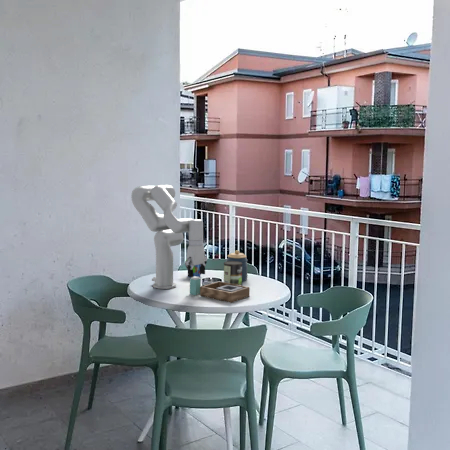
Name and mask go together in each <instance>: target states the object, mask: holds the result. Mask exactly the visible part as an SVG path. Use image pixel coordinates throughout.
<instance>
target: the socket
mask: <svg viewBox="0 0 450 450" xmlns="http://www.w3.org/2000/svg"><path fill="white" fill-rule="evenodd" d="M216 289H217V290H222V291H227V292H234V291H237V290H240V289H243V287H238V286H232V285H225V286H221V287H218V288H216Z"/></svg>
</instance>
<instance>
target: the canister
mask: <svg viewBox="0 0 450 450" xmlns="http://www.w3.org/2000/svg"><path fill="white" fill-rule="evenodd" d="M227 257H228V258H226V260H225V262H227V261H238V262H242V282H245V281H247V280H248V277H249V276H248V267H249V266H248V261H249V260H248V259H247V255H246V254H245V253H243V252H240V250H238V249H237V250H235V251H234V252H231V253H229V254H227Z"/></svg>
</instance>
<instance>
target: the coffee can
mask: <svg viewBox="0 0 450 450" xmlns="http://www.w3.org/2000/svg"><path fill="white" fill-rule="evenodd" d="M223 282H225V283H230V284H236V285H241V286H243V285H242V284H243V283H242V282H243V281H242V262H238V261H224V262H223Z"/></svg>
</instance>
